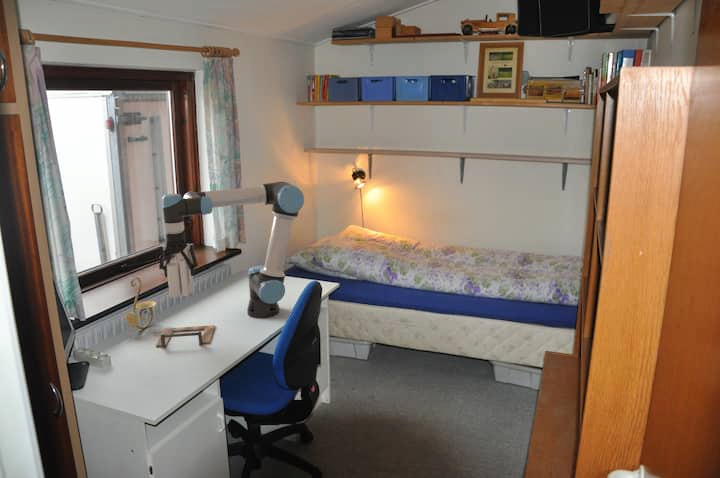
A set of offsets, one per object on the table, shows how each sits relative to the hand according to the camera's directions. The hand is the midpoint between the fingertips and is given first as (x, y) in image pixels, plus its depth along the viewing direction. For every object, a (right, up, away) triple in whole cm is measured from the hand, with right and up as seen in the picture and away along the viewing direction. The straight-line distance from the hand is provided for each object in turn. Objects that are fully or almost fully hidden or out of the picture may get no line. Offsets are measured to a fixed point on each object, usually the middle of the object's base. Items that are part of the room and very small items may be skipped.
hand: (180, 283), depth 239 cm
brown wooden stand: (0, -24, +7) cm, 25 cm away
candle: (+1, -4, +1) cm, 5 cm away
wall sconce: (-22, -22, +17) cm, 35 cm away
